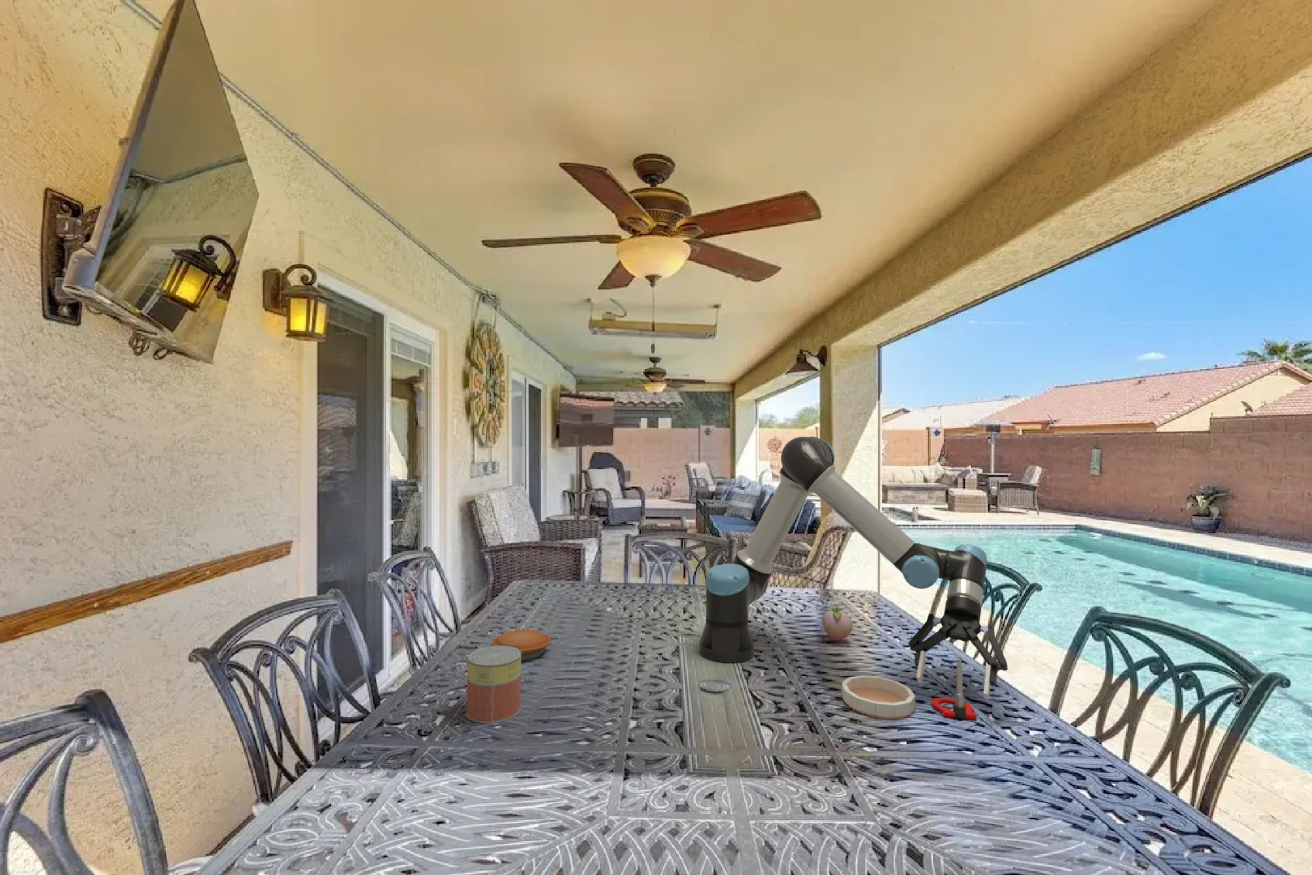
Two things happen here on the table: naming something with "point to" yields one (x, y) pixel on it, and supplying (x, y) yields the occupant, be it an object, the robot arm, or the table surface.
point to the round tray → (878, 697)
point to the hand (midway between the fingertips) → (951, 688)
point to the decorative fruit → (837, 624)
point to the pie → (525, 642)
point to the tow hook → (955, 700)
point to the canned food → (493, 684)
